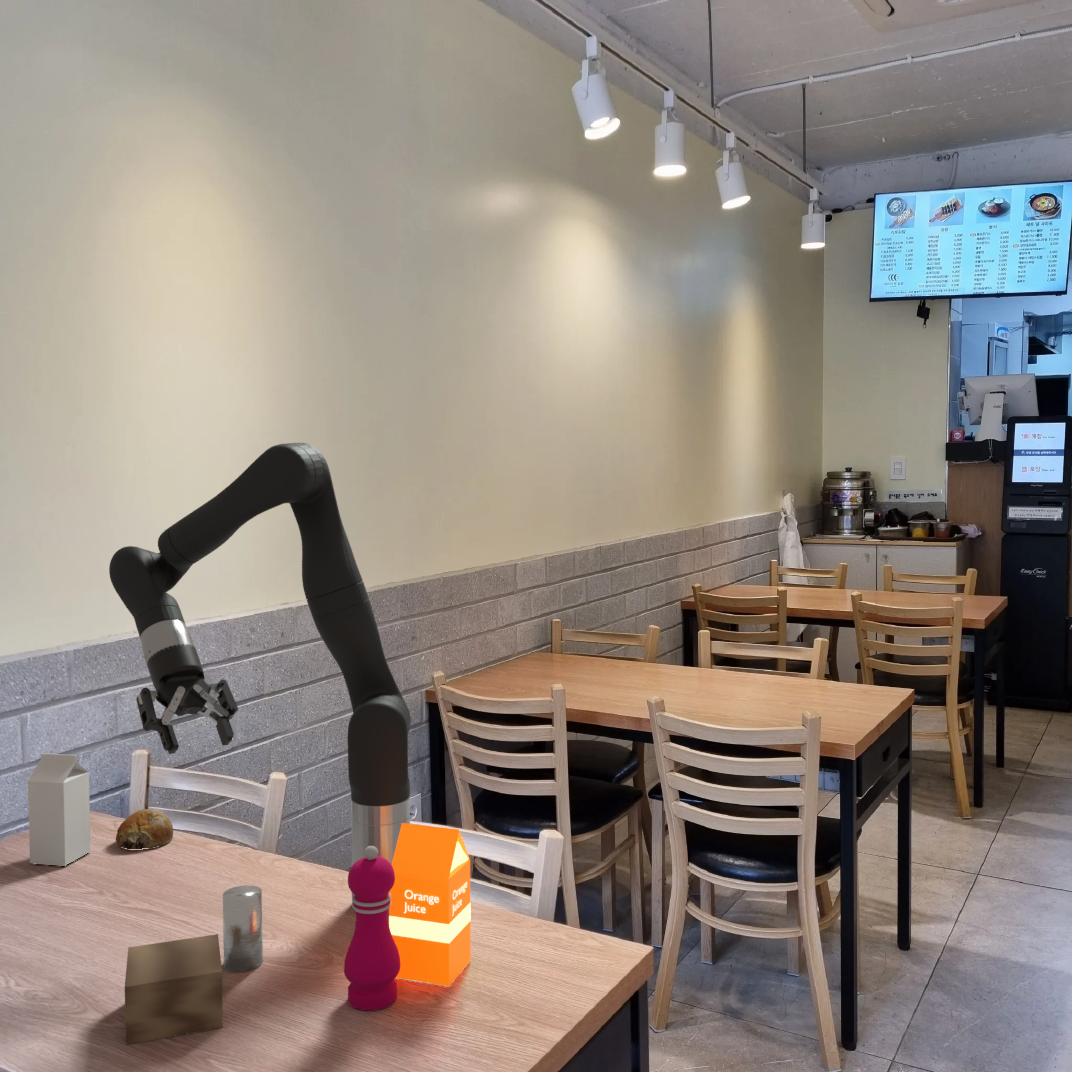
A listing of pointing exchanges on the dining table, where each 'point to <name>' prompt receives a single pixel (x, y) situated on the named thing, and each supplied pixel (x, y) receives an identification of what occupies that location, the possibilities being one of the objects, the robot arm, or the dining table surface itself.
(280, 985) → the dining table surface
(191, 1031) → the walnut block
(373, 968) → the pepper mill
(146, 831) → the bread roll
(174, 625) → the robot arm
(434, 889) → the orange juice
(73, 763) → the milk carton
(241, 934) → the shiny metal cylinder
